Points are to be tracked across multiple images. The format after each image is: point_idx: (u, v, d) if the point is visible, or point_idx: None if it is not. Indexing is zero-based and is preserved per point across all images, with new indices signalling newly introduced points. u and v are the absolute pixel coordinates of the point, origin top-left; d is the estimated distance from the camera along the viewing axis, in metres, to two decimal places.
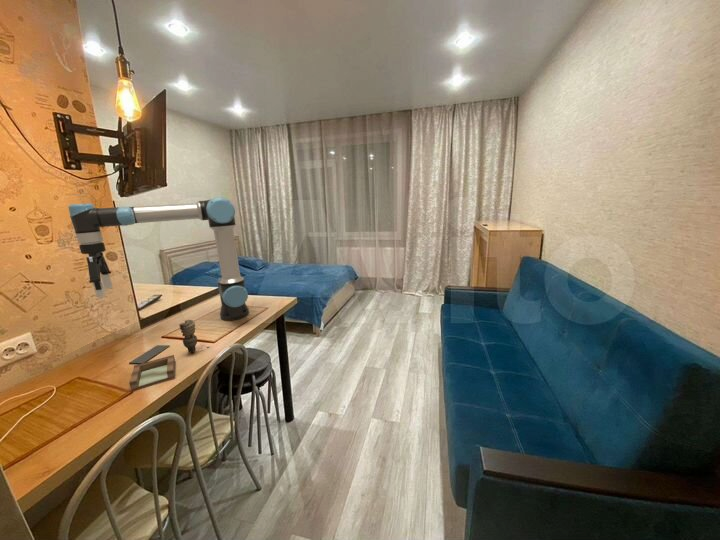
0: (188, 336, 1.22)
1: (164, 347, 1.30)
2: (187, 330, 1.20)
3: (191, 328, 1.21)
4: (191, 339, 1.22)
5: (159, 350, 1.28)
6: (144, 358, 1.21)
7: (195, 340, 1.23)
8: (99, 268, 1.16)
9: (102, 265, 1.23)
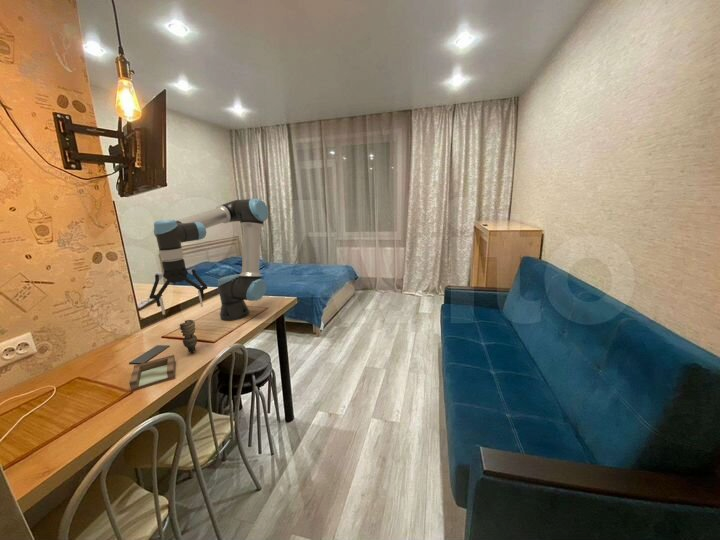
0: (188, 336, 1.22)
1: (164, 347, 1.30)
2: (187, 330, 1.20)
3: (191, 328, 1.21)
4: (191, 339, 1.22)
5: (159, 350, 1.28)
6: (144, 358, 1.21)
7: (195, 340, 1.23)
8: (165, 286, 1.14)
9: None
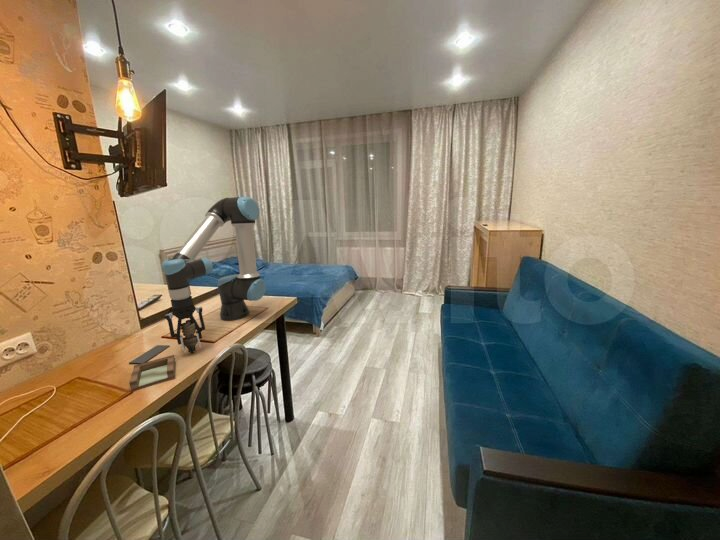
0: (188, 336, 1.22)
1: (164, 347, 1.30)
2: (188, 330, 1.20)
3: (192, 328, 1.21)
4: (191, 339, 1.22)
5: (159, 350, 1.28)
6: (144, 358, 1.21)
7: (195, 340, 1.23)
8: (179, 324, 1.19)
9: (191, 320, 1.22)
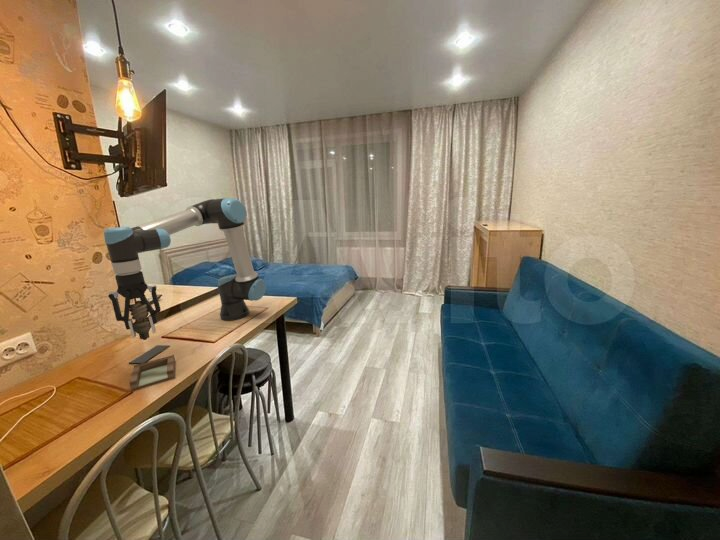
0: (139, 319, 1.03)
1: (164, 347, 1.30)
2: (137, 312, 1.01)
3: (143, 310, 1.02)
4: (143, 323, 1.02)
5: (159, 350, 1.28)
6: (144, 358, 1.21)
7: (148, 324, 1.04)
8: (127, 305, 1.00)
9: None
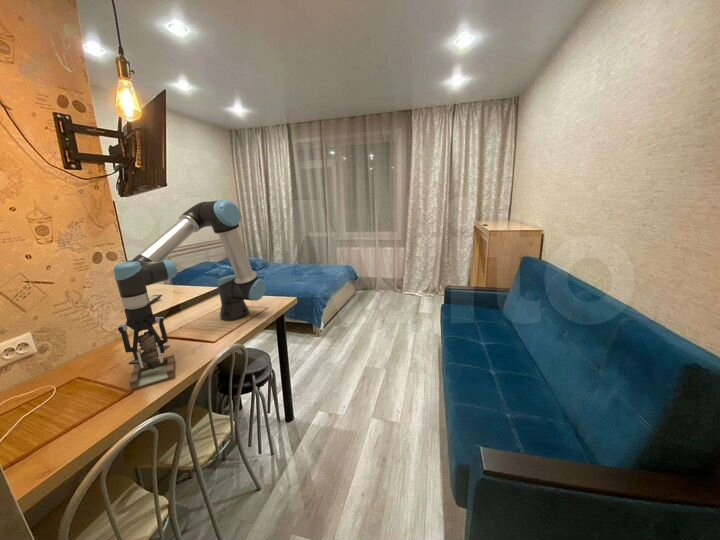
0: (147, 350, 1.06)
1: (164, 347, 1.30)
2: (146, 343, 1.04)
3: (151, 341, 1.05)
4: (151, 354, 1.06)
5: None
6: None
7: (156, 355, 1.07)
8: (135, 337, 1.03)
9: None
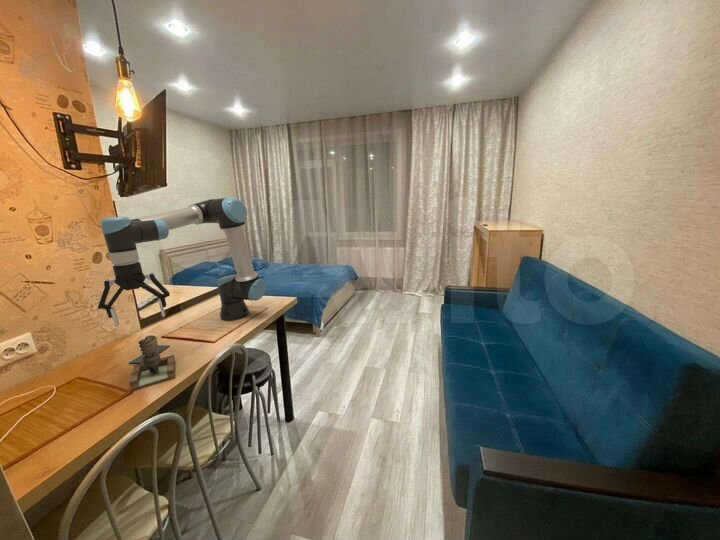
0: (149, 354, 1.06)
1: (164, 347, 1.30)
2: (147, 348, 1.04)
3: (152, 346, 1.05)
4: (152, 358, 1.06)
5: (159, 350, 1.28)
6: None
7: (157, 359, 1.07)
8: (117, 294, 0.98)
9: None
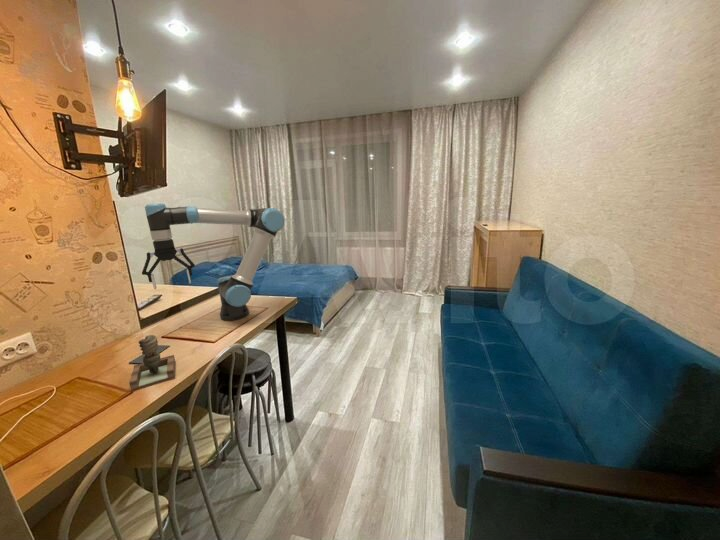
0: (149, 354, 1.07)
1: (164, 347, 1.30)
2: (147, 347, 1.04)
3: (152, 345, 1.05)
4: (152, 358, 1.06)
5: (159, 350, 1.28)
6: None
7: (157, 359, 1.07)
8: (156, 263, 1.27)
9: (177, 260, 1.31)
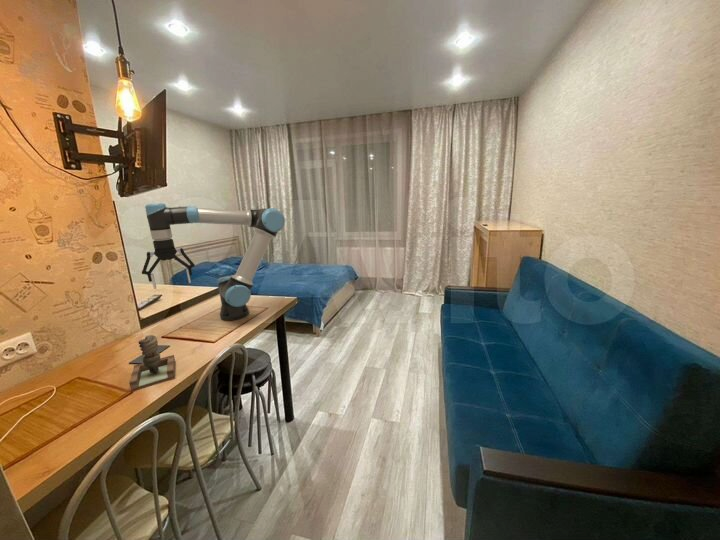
0: (149, 354, 1.06)
1: (164, 347, 1.30)
2: (147, 348, 1.04)
3: (152, 345, 1.05)
4: (152, 358, 1.06)
5: (159, 350, 1.28)
6: None
7: (157, 359, 1.07)
8: (156, 263, 1.27)
9: (177, 260, 1.31)
